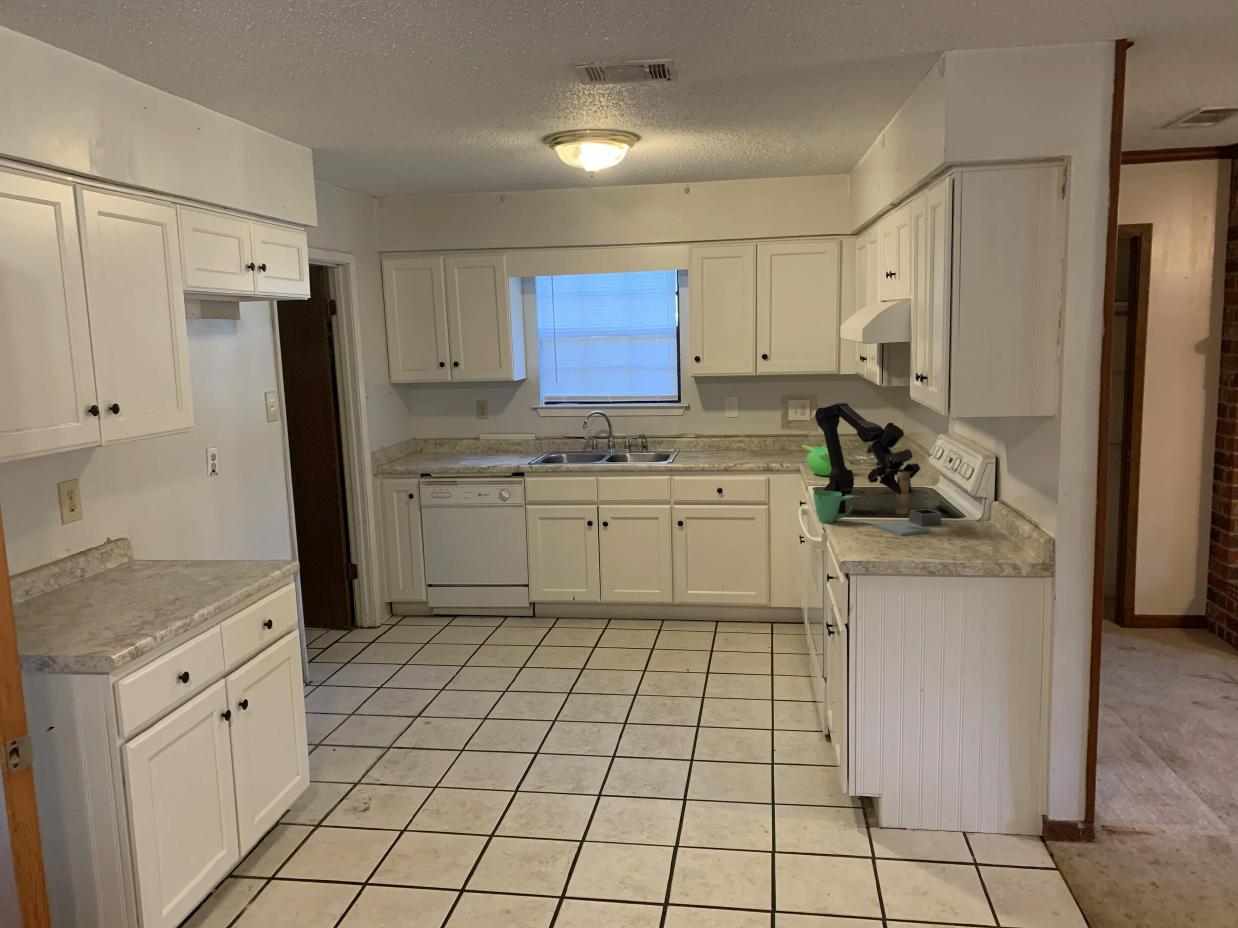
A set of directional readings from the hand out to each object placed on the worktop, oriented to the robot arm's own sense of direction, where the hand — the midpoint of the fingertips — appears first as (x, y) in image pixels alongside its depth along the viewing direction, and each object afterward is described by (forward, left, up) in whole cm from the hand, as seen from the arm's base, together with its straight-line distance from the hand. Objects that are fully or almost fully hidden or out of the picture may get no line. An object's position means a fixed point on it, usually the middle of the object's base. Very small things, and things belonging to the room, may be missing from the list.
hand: (905, 493), depth 295 cm
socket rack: (-7, +13, -13) cm, 19 cm away
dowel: (-1, 0, -7) cm, 7 cm away
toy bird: (-104, +25, -13) cm, 107 cm away
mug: (-18, -16, -13) cm, 28 cm away
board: (-1, 0, -13) cm, 13 cm away
